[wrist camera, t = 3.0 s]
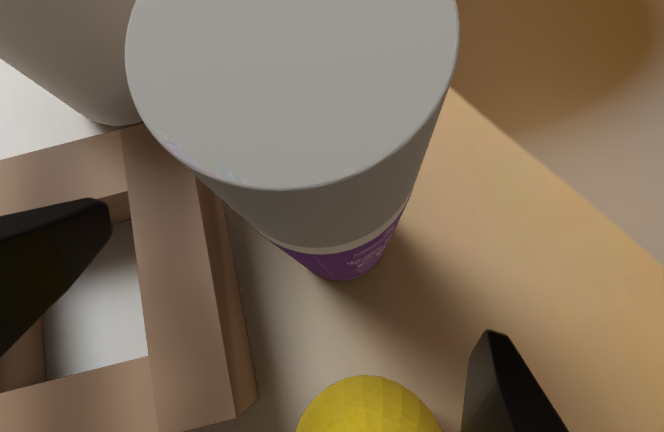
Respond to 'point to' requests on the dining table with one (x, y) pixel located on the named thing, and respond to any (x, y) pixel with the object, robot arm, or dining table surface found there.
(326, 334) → the dining table surface
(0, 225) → the robot arm
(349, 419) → the lemon
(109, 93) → the can
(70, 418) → the frame
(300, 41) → the container
